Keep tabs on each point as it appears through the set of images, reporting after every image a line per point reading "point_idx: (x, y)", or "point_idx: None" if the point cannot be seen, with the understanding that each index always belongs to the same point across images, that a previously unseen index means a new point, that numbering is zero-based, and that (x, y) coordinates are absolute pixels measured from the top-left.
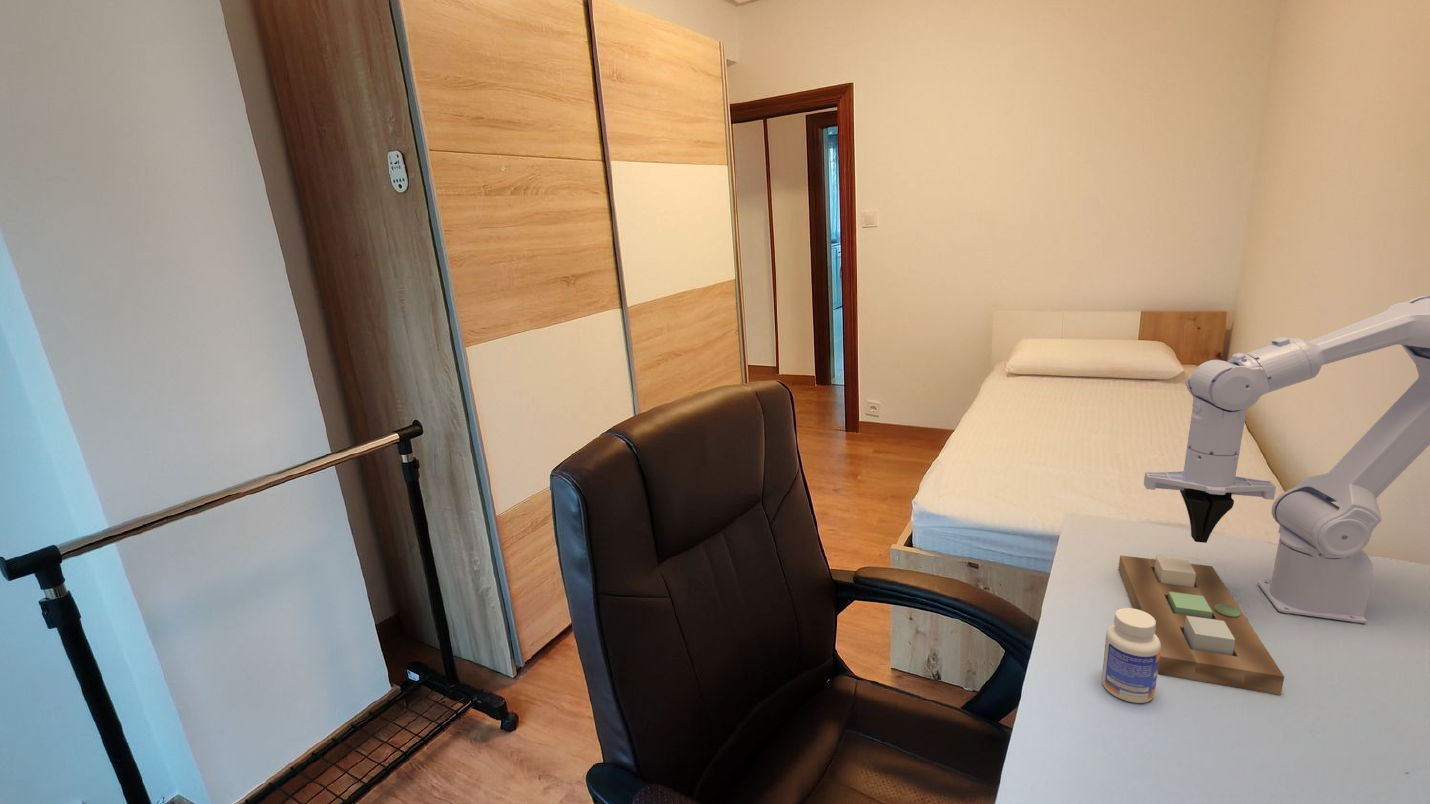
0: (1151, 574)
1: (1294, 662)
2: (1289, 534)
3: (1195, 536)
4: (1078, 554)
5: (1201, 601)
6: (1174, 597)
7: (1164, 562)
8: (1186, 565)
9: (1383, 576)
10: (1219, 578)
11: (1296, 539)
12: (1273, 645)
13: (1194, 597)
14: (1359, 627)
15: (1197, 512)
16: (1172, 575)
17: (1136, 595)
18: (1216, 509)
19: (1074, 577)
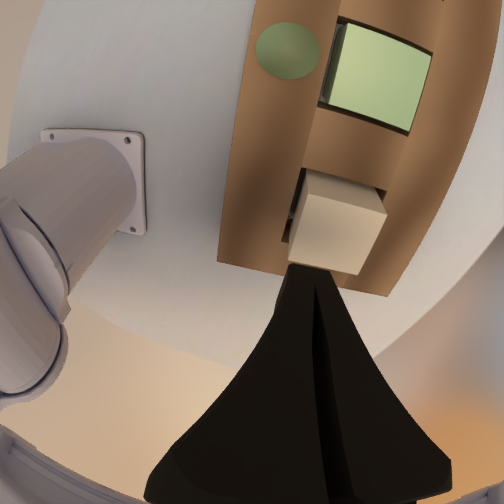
0: None
1: None
2: (43, 288)
3: (337, 289)
4: (410, 312)
5: (350, 76)
6: (412, 101)
7: (357, 249)
8: (308, 235)
9: None
10: (224, 213)
11: (31, 265)
12: (211, 2)
13: (357, 98)
14: (52, 118)
15: (384, 410)
16: (361, 200)
17: (469, 138)
18: (284, 443)
19: (470, 247)
